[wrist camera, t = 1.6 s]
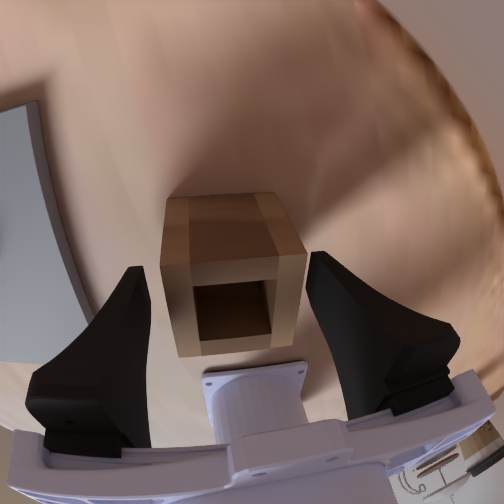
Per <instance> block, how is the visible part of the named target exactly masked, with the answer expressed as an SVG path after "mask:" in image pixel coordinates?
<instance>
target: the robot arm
mask: <svg viewBox="0 0 504 504" xmlns="http://www.w3.org/2000/svg"><path fill="white" fill-rule="evenodd" d="M305 288H306V291H307V295H308V298H309V302H310V305H311V308H312V310H313V312H314V314H315V317H316V319H317V321H318V323H319V326H320V328H321V330H322V332H323V334H324V337H325V339H326V341H327V343H328V346H329V348H330V351H331V353H332V356H333V360H334V363H335V366H336V370H337V373H338V377H339V381H340V384H341V388H342V392H343V397H344V401H345V405H346V411H347V416H348V421H345V422H344V421H341V420H337V419H329V420H322V421H317V422H313V423H309V422H308V419H307V416H306V413H305V410H304V406H303V403H302V400H301V397H300V393H301V390H302V387H303V383H304V380H305V376H306V373H307V369H308V364H307V362H306V361H299V362H293V363H286V364H280V365H273V366H266V367H258V368H250V369H242V370H233V371H224V372H214V373H205V374H203V375H202V376H201V379H202V386H203V391H204V396H205V401H206V406H207V412H208V416H209V421H210V426H211V428H214V432H215V439H216V445H207V446H193V447H175V448H151V440H150V432H149V422H148V410H147V393H146V364H147V354H148V345H149V336H150V327H151V299H150V295H149V291H148V287H147V282H146V278H145V273H144V269H143V266H132V267H128V269H127V270H126V272H125V273H124V275H123V276H122V278H121V280H120V281H119V283H118V285H117V286H116V288H115V289H114V291H113V292H112V294H111V295H110V297H109V298H108V300H107V301H106V303H105V304H104V305H103V307H102V308H101V310H100V311H99V312H98V314H97V315H96V316H95V318H94V319H93V320H92V321H91V322H90V324H89V325H88V326H87V327H86V328H85V329H84V331H83V332H82V333H81V334H80V335H79V336H78V337H77V338H76V339H75V340H74V341H73V342H72V343H71V344H70V345H68V346H67V347H66V348H65V349H64V350H63V351H62V352H60V353H59V354H58V355H57V356H56V357H54V358H53V359H52V360H50V361H49V362H48V363H46V364H45V365H43V366H42V367H40V368H39V369H38V370H36V371H35V372H33V374H32V377H31V380H30V383H29V388H28V392H27V397H26V401H25V405H26V408H27V410H28V411H29V412H30V414H31V415H32V416H33V417H34V418H35V419H36V420H37V421H38V422H39V423H40V424H41V425H42V426H44V427H45V428H46V430H45V436H44V435H42V434H39V433H35V432H29V431H23V430H17V429H16V430H14V435H13V441H12V447H11V453H10V460H9V468H8V477H7V485H8V486H9V487H11V488H13V489H14V490H16V491H18V492H20V493H22V494H24V495H26V496H28V497H30V498H32V499H34V500H36V501H39V502H41V503H45V504H398V503H397V500H396V497H395V495H394V492H393V489H392V487H391V484H390V481H389V479H388V477H391V476H393V475H395V474H397V473H400V472H401V471H404V470H406V469H408V468H410V467H412V466H414V465H416V464H418V463H420V462H422V461H424V460H426V459H428V458H430V457H432V456H434V455H436V454H438V453H440V452H442V451H443V450H445V449H447V448H449V447H451V446H453V445H454V444H456V443H458V442H460V441H462V440H463V439H465V438H467V437H469V436H470V435H471V434H472V433H473V432H475V431H476V430H477V429H478V428H479V427H480V426H481V425H483V424H484V423H485V422H486V421H487V420H488V419H489V418H490V417H491V416H493V415H494V413H496V411H497V409H496V407H495V405H494V403H493V402H492V400H491V398H490V396H489V395H488V393H487V391H486V390H485V388H484V386H483V385H482V383H481V381H480V380H479V378H478V376H477V375H476V373H475V371H474V370H473V369H471V370H469V371H466V372H464V373H462V374H459V375H457V376H455V377H454V378H453V379H451V380H450V378H449V377H448V374H449V373H450V370H449V368H448V366H447V364H448V363H449V362H450V360H451V359H452V357H453V356H454V355H455V353H456V352H457V350H458V348H459V345H460V337H459V336H458V334H457V333H456V331H455V330H454V329H453V327H452V326H451V324H450V323H446V322H443V321H440V320H437V319H433V318H430V317H428V316H425V315H423V314H420V313H417V312H415V311H413V310H411V309H408V308H406V307H404V306H402V305H400V304H398V303H396V302H395V301H393V300H391V299H389V298H388V297H386V296H384V295H383V294H381V293H379V292H378V291H376V290H375V289H373V288H372V287H370V286H369V285H368V284H366V283H365V282H363V281H362V280H361V279H359V278H358V277H357V276H355V275H354V274H353V273H352V272H350V271H349V270H348V269H347V268H345V267H344V266H343V265H342V264H340V263H339V262H338V261H337V260H335V259H334V258H333V257H332V256H330V255H329V254H328V253H327V252H325V251H316V252H311V257H310V263H309V269H308V275H307V281H306V287H305Z"/></svg>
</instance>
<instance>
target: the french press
mask: <svg viewBox="0 0 504 504" xmlns="http://www.w3.org/2000/svg"><path fill="white" fill-rule="evenodd" d="M456 447H457V445H456V444H454V445H453V446H451V447H449V448H447V449H445V450H443V451H442V452H440V453H438V454H436V455H434V456H432V457H430V458H428V459H426V460H424V461H422V462H420V463H418V464H416V465H414V466H412V467H411V470H412V471H414V469H415V468H416V470H419V469H421V468H423V467H426V466H428V465H429V464H432V463H433V462H435V461H437V460H439V459H440V458H442V457H444V456H445V455H447V454H448V453H450V452H451V451H453V450H454V449H455V448H456ZM458 456H459V454H458V453H456V454H453V455H451V456H449V457H447V458H445V460H444V459H443V460H441V461H439V462H438V463H436V464H434V465H433V466H431V467H429V469H428V468H427V469H426V470H424V471H423V472H421V473H420V474H419V475H418V476H417V478H422V476H423V477H424V476H426V475H427V474H430V473H432V472H433V471H435V470H437V469H438V470H439V471H440V469H441V467H442V466H443V465H445V464H448V462H451V460H454V459H455V458H457V457H458ZM440 474H441V476H442V478H443V481H444V483H445V485H446V482H445V480H444V477H443V475H442V473H441V471H440ZM470 475H471V473H470V472H468V473H466V474H465V475H463V476H461V477H460V478H458V479H456V480H455V481H453V482H451V483H449V484H447V485H446V486H444V487H442V488H440V489H438V490H437V491H435V492H433V493H431V494H429V495H427V496H425V497H423V501H429V502H431V501H438V500H441V499H444V498H446V497H447V498H449V497H450V498H451V500H452V502H453V504H454V501H453V499H452V496H453V495H454V493H455V492H456V491H458V490H459V489H460V488H461V487H462V486H463V485H464V484H465V483H466V482H467V480H468V479H469V477H470ZM403 478H404V480H405V483H406V484H407V485H408V487H409V488H410V489H412V488H411V487H410V485H409V484H408V483H407V481H406V478H405V474H404V471H403ZM398 479H399V482H400V484H401V486H402V487H403V489H404V490H405V491H407V492H408V493H411V494H420V493H421V492H425V491H426V487H425V485H424V484H421V485H419V490H420V491H417V490H415V489H412V490H413V491H416V492H419V493H413V492H410V491H408V490H407V489H406V488H405V487H404V486H403V485H402V482H401V479H400V476H399V473H398ZM422 485H423V487H424V489H425V490H424V491H421V488H420V486H422Z"/></svg>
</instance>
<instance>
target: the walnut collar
mask: <svg viewBox="0 0 504 504" xmlns="http://www.w3.org/2000/svg"><path fill="white" fill-rule="evenodd" d="M307 255H308V253H307V251H306V249H305V248H304V246H303V244H302V242H301V240H300V238H299V236H298V234H297V233H296V231H295V229H294V227H293V225H292V223H291V221H290V220H289V218H288V216H287V214H286V212H285V211H284V209H283V207H282V205H281V203H280V201H279V200H278V198H277V196H276V194H275V192H270V193H248V194H230V195H214V196H200V197H186V198H174V199H167V202H166V210H165V218H164V227H163V236H162V246H161V256H160V270H161V276H162V281H163V287H164V292H165V297H166V302H167V307H168V312H169V316H170V321H171V326H172V330H173V335H174V339H175V343H176V348H177V352H178V356H179V358H181V357H194V356H206V355H217V354H227V353H236V352H245V351H253V350H261V349H269V348H277V347H284V346H291V345H292V344H293V338H294V333H295V327H296V322H297V316H298V310H299V305H300V299H301V293H302V287H303V280H304V274H305V268H306V261H307Z"/></svg>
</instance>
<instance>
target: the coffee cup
mask: <svg viewBox="0 0 504 504" xmlns="http://www.w3.org/2000/svg"><path fill="white" fill-rule="evenodd" d="M459 444H460V447H461V450H462V454H463V457H464V460H465V464H466V467H467V471H466V472H467V473H468V472H470V473H471V474H472V476H473V477H475V476H477V475H479V474H480V473H482V472H483V471H485V470H486V469H488V468H489V467H491V466H492V465H494V464H495V463H497V462H498V461H499V460H501V459H502V458H503V457H504V440H503V438H502V437H501V436H500V434H499V433H498V431H497V430H496V429H495V427H494V426H493V425H492V423H491V422H490V421H489V419H488V420H487V421H486V422H485V423H484V424H483V425H481V426H480V427H479V428H478V429H477V430H476V431H475V432H473V433H472V434H471V435H470V436H469V437H467V438H465V439H463V440H462V441H460V442H459Z"/></svg>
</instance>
